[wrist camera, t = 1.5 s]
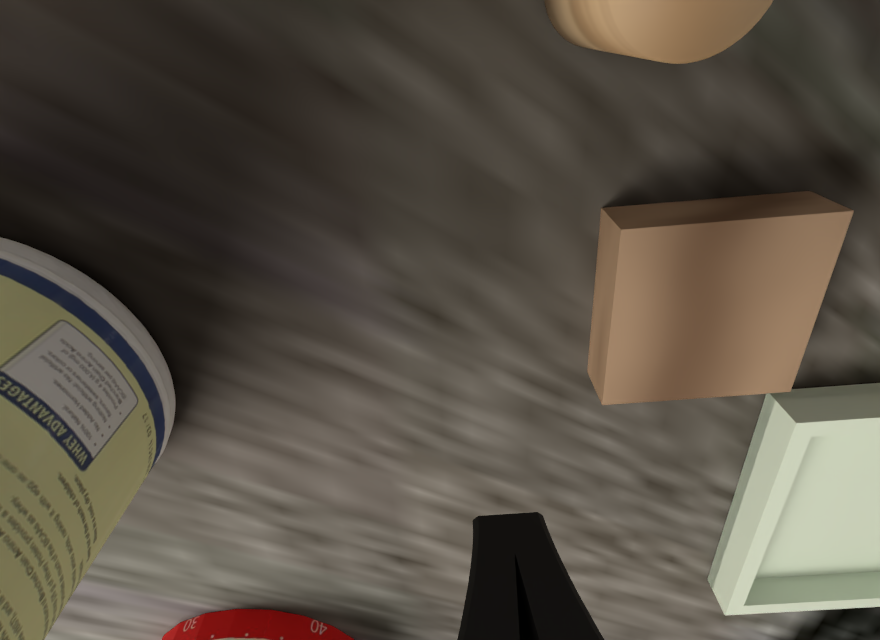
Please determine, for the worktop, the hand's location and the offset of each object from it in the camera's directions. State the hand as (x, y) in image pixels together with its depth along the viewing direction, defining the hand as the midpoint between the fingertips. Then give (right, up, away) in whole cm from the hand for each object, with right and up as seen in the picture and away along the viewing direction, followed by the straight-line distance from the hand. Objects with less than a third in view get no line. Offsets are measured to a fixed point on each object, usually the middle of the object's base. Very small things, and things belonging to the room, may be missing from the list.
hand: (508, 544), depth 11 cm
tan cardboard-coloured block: (+8, +6, +9) cm, 13 cm away
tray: (+19, -4, +14) cm, 24 cm away
